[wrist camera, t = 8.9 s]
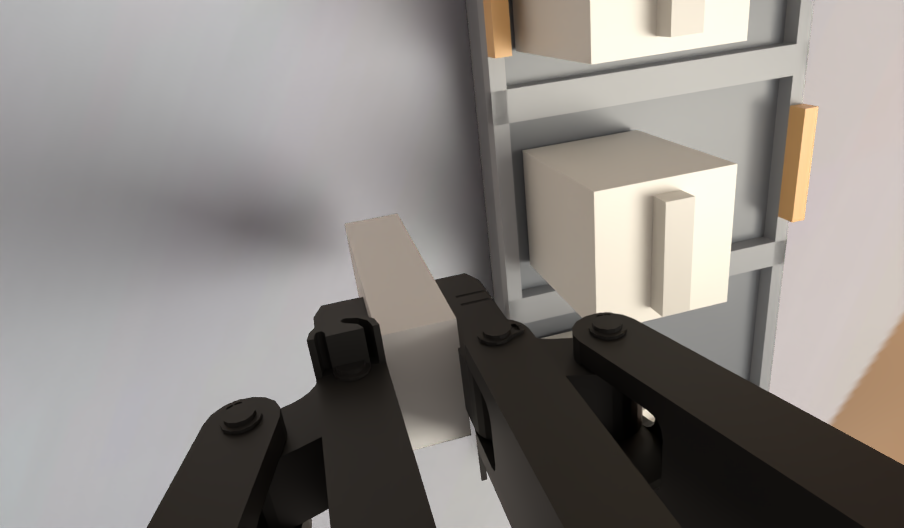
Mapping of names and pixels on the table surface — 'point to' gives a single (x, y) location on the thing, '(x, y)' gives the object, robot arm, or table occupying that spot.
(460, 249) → the table surface
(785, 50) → the frame
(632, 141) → the cream ridged block
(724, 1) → the tab
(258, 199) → the table surface
